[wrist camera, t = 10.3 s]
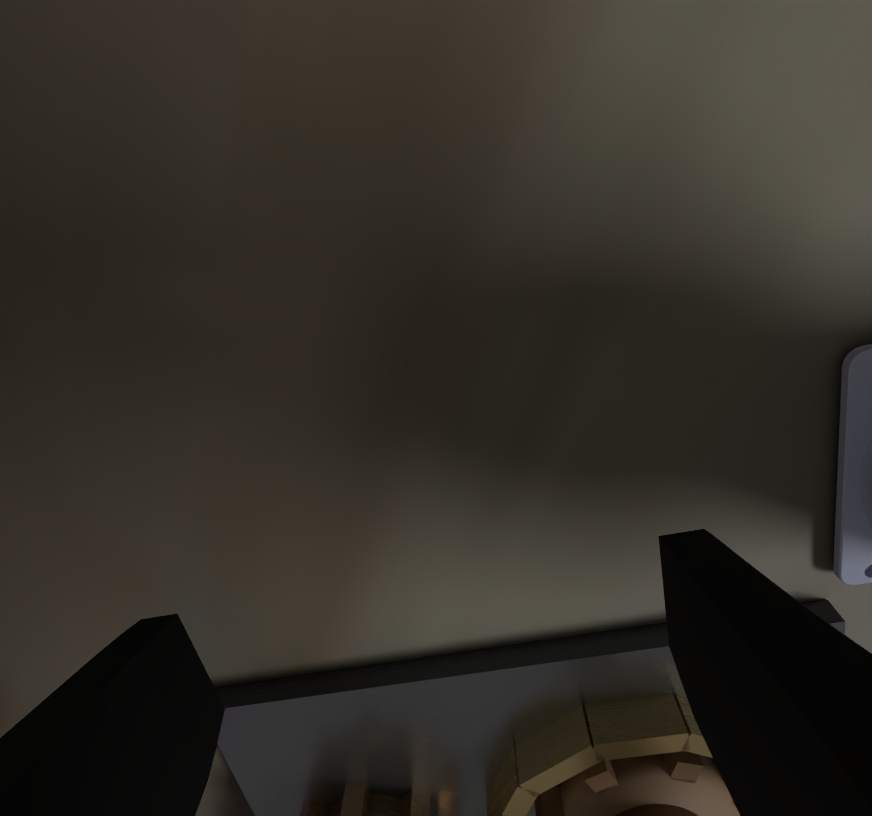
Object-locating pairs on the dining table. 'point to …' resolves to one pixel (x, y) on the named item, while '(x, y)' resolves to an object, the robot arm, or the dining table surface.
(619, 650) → the carrier plate
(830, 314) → the dining table surface
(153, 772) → the robot arm
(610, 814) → the gear
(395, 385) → the dining table surface
